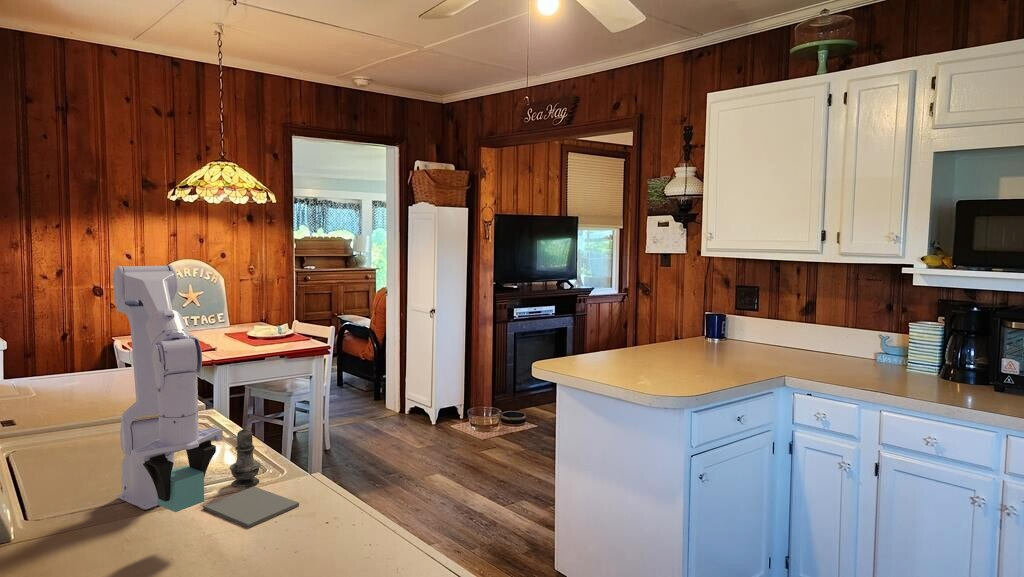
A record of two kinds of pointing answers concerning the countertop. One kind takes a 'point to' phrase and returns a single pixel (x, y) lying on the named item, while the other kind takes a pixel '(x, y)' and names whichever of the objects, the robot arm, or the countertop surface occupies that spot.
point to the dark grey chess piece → (245, 461)
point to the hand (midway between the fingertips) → (180, 493)
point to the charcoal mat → (251, 506)
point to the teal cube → (184, 489)
